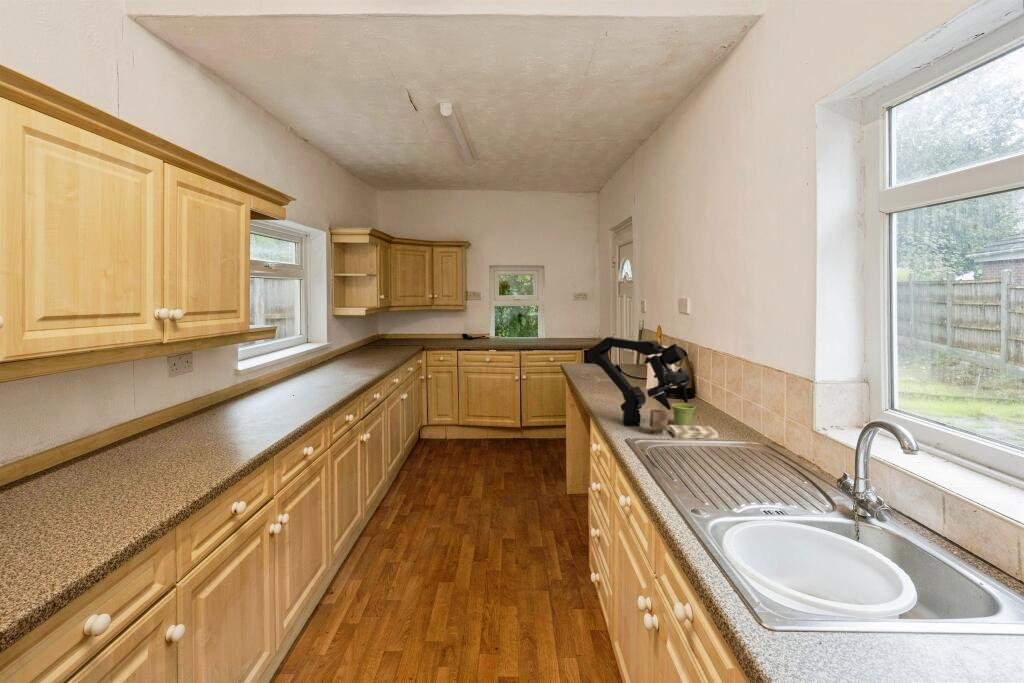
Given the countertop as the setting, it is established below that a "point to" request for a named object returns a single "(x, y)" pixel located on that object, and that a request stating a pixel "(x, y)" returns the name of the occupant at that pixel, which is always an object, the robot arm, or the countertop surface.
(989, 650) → the countertop surface
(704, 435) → the birch board
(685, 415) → the plant pot
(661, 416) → the walnut peg
